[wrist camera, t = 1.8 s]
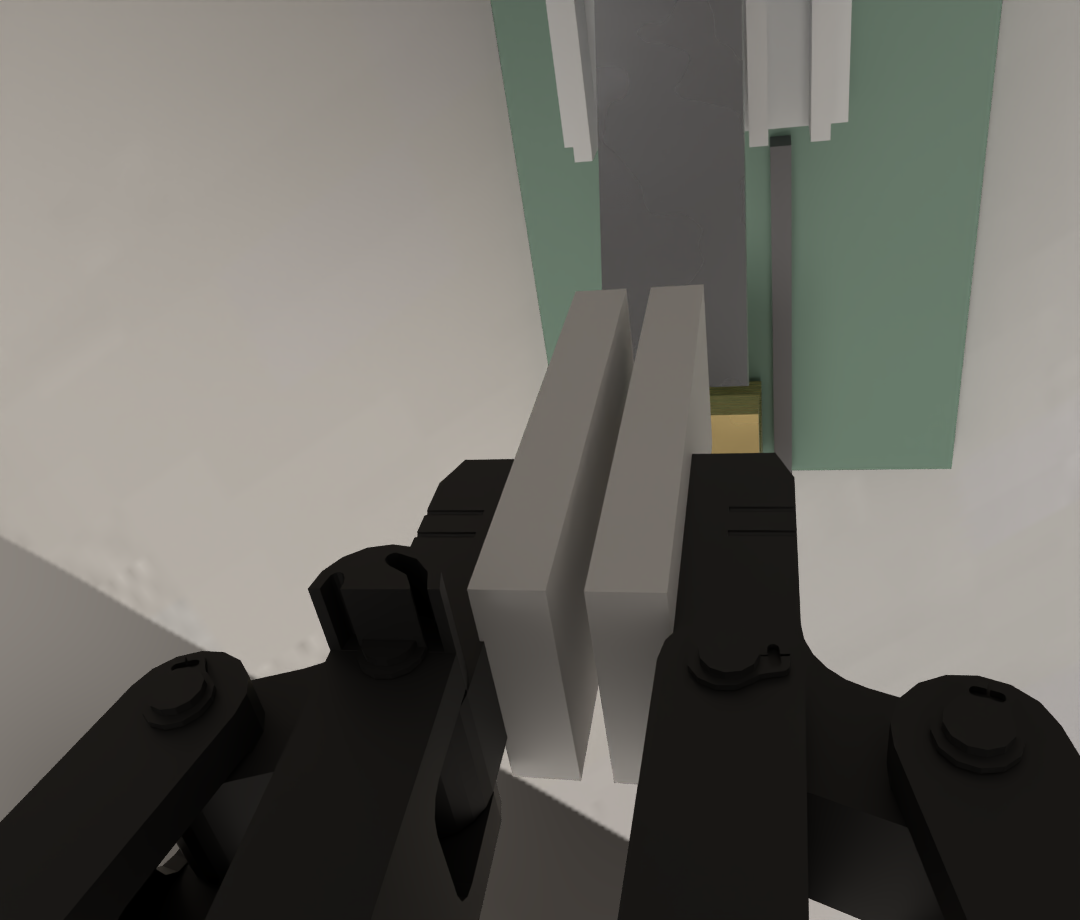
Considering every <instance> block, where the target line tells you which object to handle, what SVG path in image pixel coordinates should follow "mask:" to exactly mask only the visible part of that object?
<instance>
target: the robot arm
mask: <svg viewBox="0 0 1080 920" xmlns="http://www.w3.org/2000/svg"><path fill="white" fill-rule="evenodd" d="M711 452H712V429H711V411H710V393H709V375H708V357H707V339H706V320H705V302H704V284H701V285H683V286H665V287H651V289H650V294H649V298H648V303H647V307H646V312H645V317H644V321H643V326H642V330H641V335H640V339H639V344H638V348H637V353H636V357H635V362H634V358H633V349H632V339H631V329H630V319H629V310H628V300H627V290H626V289H611V290H593V291H576V292H575V295H574V297H573V300H572V303H571V306H570V308H569V311H568V314H567V317H566V319H565V322H564V325H563V328H562V330H561V333H560V336H559V339H558V341H557V344H556V347H555V350H554V352H553V355H552V358H551V360H550V363H549V366H548V369H547V371H546V374H545V377H544V380H543V382H542V385H541V388H540V391H539V393H538V396H537V399H536V402H535V404H534V407H533V410H532V413H531V415H530V418H529V421H528V424H527V426H526V429H525V432H524V434H523V437H522V440H521V443H520V445H519V448H518V451H517V454H516V456H515V459H493V460H465V461H464V462H462V463H461V464H460V465H459V466H458V467H457V468H456V469H455V470H454V471H453V472H451V473H450V474H449V475H448V476H447V477H446V478H445V479H444V480H443V481H442V482H440V483H439V486H438V488H437V490H436V492H435V494H434V496H433V499H432V501H431V503H430V505H429V507H428V510H427V512H428V513H427V515H425V516H424V518H423V520H422V523H421V525H420V527H419V529H418V531H417V533H418V535H417V537H415V538H414V540H413V542H412V544H411V547H408V546H401V545H393V544H392V545H385V546H377V547H370V548H366V549H363V550H360V551H358V552H355V553H352V554H350V555H347V556H345V557H342V558H341V559H339V560H338V561H336V562H335V563H333V564H332V565H331V566H329V567H328V568H326V569H325V570H323V571H322V572H321V573H320V574H319V576H318V577H317V578H316V579H315V581H314V582H313V583H312V584H311V586H310V587H309V588H308V591H309V593H310V596H311V599H312V602H313V604H314V607H315V610H316V613H317V615H318V618H319V621H320V623H321V626H322V629H323V632H324V634H325V637H326V640H327V643H328V645H329V648H330V653H329V655H328V657H327V659H326V661H325V662H324V663H321V664H318V665H314V666H311V667H308V668H304V669H300V670H296V671H291V672H287V673H282V674H278V675H273V676H269V677H264V678H260V679H255V680H250V677H249V675H248V673H247V671H246V670H245V668H244V666H243V664H242V662H241V661H240V660H239V659H237V658H235V657H233V656H231V655H229V654H227V653H225V652H210V651H200V652H197V653H192V654H187V655H184V656H179V657H176V658H174V659H172V660H170V661H168V662H166V663H164V664H162V665H160V666H158V667H155V668H154V669H152V670H151V671H149V672H148V673H147V674H146V675H144V676H143V677H142V678H141V679H140V680H138V681H137V682H136V683H135V684H133V685H132V686H131V687H130V688H129V689H128V690H127V691H126V693H124V694H123V695H122V696H121V697H120V699H119V700H118V701H117V702H116V703H115V704H114V705H113V706H112V707H111V708H110V709H109V710H108V711H107V712H106V713H105V714H104V715H103V716H102V717H101V718H100V719H99V720H98V721H97V722H96V723H95V724H94V725H93V726H92V728H91V729H90V730H89V731H88V732H87V733H86V734H85V735H84V736H83V737H82V738H81V739H80V740H79V741H78V742H77V743H76V744H75V745H74V746H73V747H72V748H71V749H70V750H69V752H67V754H66V755H65V756H64V757H63V758H62V759H61V760H60V761H59V762H58V763H57V764H56V765H55V766H54V767H53V768H52V769H51V770H50V771H49V772H48V773H47V774H46V775H45V776H44V777H43V779H42V780H40V781H39V783H38V784H37V785H36V786H35V787H34V788H33V789H32V790H31V791H30V792H29V793H28V794H27V795H26V796H25V797H24V798H23V799H22V800H21V801H20V802H19V803H18V804H17V805H16V806H15V807H14V809H13V810H12V811H11V812H10V813H9V814H8V815H7V816H6V817H5V818H4V819H3V820H2V821H1V822H0V920H479V918H480V913H481V909H482V905H483V900H484V896H485V891H486V887H487V882H488V878H489V874H490V869H491V865H492V860H493V856H494V851H495V847H496V843H497V838H498V834H499V829H500V825H501V806H502V805H501V804H502V803H501V798H500V794H499V790H498V786H497V783H496V779H497V775H498V771H499V768H500V764H501V760H502V756H503V753H504V749H505V746H506V750H507V754H508V758H509V762H510V766H511V770H512V774H513V776H517V777H532V778H548V779H563V780H578V781H581V778H582V772H583V767H584V761H585V756H586V750H587V745H588V739H589V734H590V728H591V723H592V717H593V712H594V706H595V701H596V695H597V690H598V684H599V690H600V696H601V703H602V709H603V715H604V722H605V728H606V734H607V741H608V747H609V753H610V759H611V766H612V772H613V778H614V783H624V784H638V787H637V794H636V801H635V807H634V814H633V821H632V827H631V834H630V841H629V848H628V854H627V861H626V868H625V875H624V881H623V887H622V894H621V901H620V907H619V914H618V920H809V900H808V898H809V899H812V900H814V901H817V902H819V903H822V904H824V905H826V906H829V907H831V908H834V909H836V910H839V911H841V912H844V913H846V914H848V915H851V916H853V917H856V918H858V919H861V920H1080V755H1079V754H1078V752H1077V750H1076V749H1075V747H1074V745H1073V744H1072V742H1071V741H1070V739H1069V737H1068V736H1067V734H1066V732H1065V731H1064V729H1063V728H1062V726H1061V725H1060V724H1059V723H1058V721H1057V720H1056V719H1055V718H1054V717H1053V716H1052V715H1051V714H1050V713H1049V711H1048V710H1047V709H1046V708H1045V707H1044V706H1043V705H1042V704H1041V703H1040V702H1039V701H1037V700H1035V699H1034V698H1032V697H1030V696H1029V695H1027V694H1025V693H1024V692H1022V691H1020V690H1019V689H1017V688H1015V687H1014V686H1012V685H1009V684H1006V683H1002V682H999V681H995V680H992V679H988V678H985V677H981V676H969V675H944V676H941V677H937V678H934V679H931V680H927V681H924V682H920V683H918V684H916V685H915V686H914V687H913V688H911V689H910V690H909V691H908V692H907V693H905V694H904V695H903V696H902V697H896V696H893V695H889V694H886V693H883V692H879V691H876V690H872V689H869V688H866V687H864V686H861V685H858V684H856V683H853V682H851V681H848V680H846V679H844V678H842V677H841V676H839V675H838V674H836V673H834V672H833V671H831V670H830V669H828V668H827V667H826V666H825V665H824V664H823V663H822V662H821V661H820V660H818V659H817V658H816V657H815V656H814V655H813V653H812V652H811V650H810V648H809V647H808V645H807V643H806V642H805V640H804V636H803V632H802V627H801V618H800V596H799V573H798V550H797V527H796V505H795V482H794V476H793V475H792V474H791V472H790V471H789V470H788V469H787V467H786V466H785V465H784V463H783V462H782V461H781V459H780V458H779V457H778V455H777V454H776V453H714V454H711ZM176 843H177V845H178V847H179V848H180V849H179V850H178V851H177V853H176V854H175V855H174V856H173V857H172V858H171V859H170V860H168V861H167V862H166V863H165V864H164V865H163V866H160V867H157V866H158V865H159V864H160V863H161V861H162V860H163V859H164V858H165V856H166V855H167V854H168V853H169V851H170V850H171V849H172V847H173V846H174V845H175V844H176Z"/></svg>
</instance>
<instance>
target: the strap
mask: <svg viewBox="0 0 1080 920" xmlns="http://www.w3.org/2000/svg"><path fill="white" fill-rule="evenodd" d="M594 12H595V50H596V87H597V124H598V162H599V199H600V236H601V274H602V290H611V289H626V290H627V300H628V310H629V319H630V329H631V339H632V349H633V358H634V362H635V357H636V353H637V348H638V344H639V339H640V335H641V330H642V326H643V321H644V317H645V312H646V307H647V303H648V298H649V294H650V289H651V287H665V286H683V285H701V284H704V302H705V320H706V339H707V357H708V375H709V387H730V386H749V361H748V298H747V235H746V172H745V109H744V46H743V0H594Z"/></svg>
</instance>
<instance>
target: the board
mask: <svg viewBox="0 0 1080 920" xmlns="http://www.w3.org/2000/svg"><path fill="white" fill-rule="evenodd" d="M491 6H492V13H493V19H494V25H495V32H496V38H497V44H498V51H499V57H500V63H501V70H502V76H503V82H504V89H505V95H506V101H507V107H508V114H509V120H510V126H511V133H512V139H513V145H514V152H515V158H516V164H517V171H518V177H519V183H520V190H521V196H522V202H523V209H524V215H525V221H526V227H527V234H528V240H529V246H530V253H531V259H532V265H533V272H534V278H535V284H536V291H537V297H538V303H539V310H540V316H541V322H542V329H543V335H544V341H545V347H546V354H547V360H548V366H549V363H550V360H551V358H552V355H553V352H554V350H555V347H556V344H557V341H558V339H559V336H560V333H561V330H562V328H563V325H564V322H565V319H566V317H567V314H568V311H569V308H570V306H571V303H572V300H573V297H574V295H575V292H576V291H593V290H602V274H601V236H600V199H599V162H598V124H597V87H596V50H595V12H594V0H491ZM1001 8H1002V0H743V46H744V109H745V172H746V235H747V298H748V361H749V381H761V387H762V435H763V453H776V454H777V455H778V457H779V458H780V459H781V461H782V462H783V463H784V465H785V466H786V467H787V469H788V470H789V471H790V472H791V474H792V470H876V469H951V467H952V458H953V449H954V440H955V430H956V421H957V412H958V403H959V394H960V385H961V375H962V366H963V357H964V348H965V339H966V329H967V320H968V311H969V302H970V293H971V284H972V274H973V265H974V256H975V247H976V238H977V228H978V219H979V210H980V201H981V192H982V183H983V173H984V164H985V155H986V146H987V137H988V127H989V118H990V109H991V100H992V91H993V82H994V72H995V63H996V54H997V45H998V36H999V26H1000V17H1001Z"/></svg>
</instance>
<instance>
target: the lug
mask: <svg viewBox="0 0 1080 920" xmlns="http://www.w3.org/2000/svg"><path fill="white" fill-rule="evenodd" d="M709 393H710V411H711V429H712V452H711V454H714V453H763V435H762V387H761V381H749V386H730V387H709Z"/></svg>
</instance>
